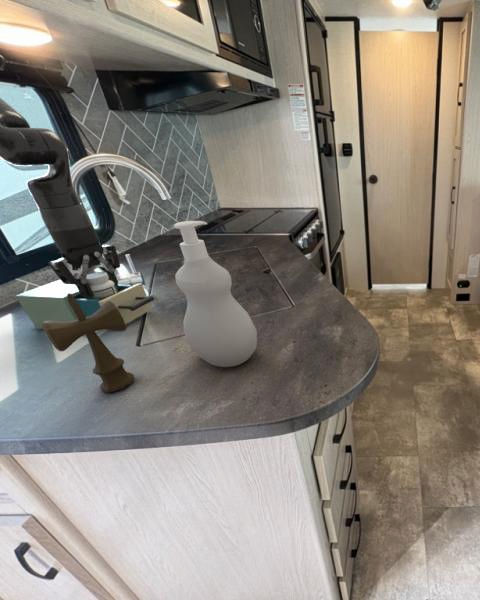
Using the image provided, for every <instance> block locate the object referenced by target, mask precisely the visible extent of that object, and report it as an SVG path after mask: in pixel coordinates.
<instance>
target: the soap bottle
mask: <svg viewBox="0 0 480 600" xmlns="http://www.w3.org/2000/svg"><path fill="white" fill-rule="evenodd" d="M202 225H208V222H206V221H204V220H185V221H179V222H176V223H174V224H173V228H174V229H176V230H177V229H178V230H179V231H180V234H181V237H182V242H180V243H179V248H180V251H181V253H182V256H183V264H182V266H181V267H180V268H179V269H178V270H177V272H176V273H175V274H174V278H175V283H176V285H177V287H178V289H179V290H180V291H181V292H182V293H183V294H184V295H185V298H186V300H187V303H186V310H185V313H184V318H183V322H182V323H183V329H184V330H183V331H184V337H185V341H186V343H187V344H188V345H189V347H190V348H191V349H192V350H193V352H194V353H195V354H196V356H198V357H199V358H200V359H202V360H204V362H207V363H208V364H210V365H211V366H214V367H220V368H231V367H236V366H239V365H241V364H243V363H245V362H247V361H248V360H249V359H250V358H251V356H253V354H254V353H255V351H256V350H257V347H258V330H257V328H256V326H255V324H254V322H253V320H252V318H251V316H250V314H249V313H248V312H247V310H246V309H244V307H243V306H241V304H240V303H239V302H238V301H237V300H236V299H235V297H234V296H233V294H232V292H231V291H232V290H231V289H232V286H233V280H232V276H231V274H230V273H229V271H228V270H227V269H226V268H224V267H223V266H221V265H220V264H218V263H217V262H216V261H214V259H212V258H211V256H210V255H209V253H208V251H207V247H206V243H205V240H203V239H199V237H198V234H197V231H196V228H195V227H197V226H202Z"/></svg>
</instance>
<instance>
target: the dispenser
mask: <svg viewBox="0 0 480 600" xmlns="http://www.w3.org/2000/svg"><path fill="white" fill-rule="evenodd" d="M68 293H70V294H72V296H73V297H74V296H77V295H79V294H80V292H79V290H78V288H77V286H76V285H75V284H64V283H63V282H62V281H61V279H60V278H59V279H58V280H55V281H51V282H48V283H46V284H44V285H40V286H38V287H35V288H33V289H30V290H27V291H24V292H22V293H19V294H18V293H17V294H16V295H15V298H16V299H17V301H18V302H19V304H20V305H21V307H22V309H23V310H24V312H25V313H26V315H27V316H28V318H29V319H30V321H31V323H32V324H33V326H34V327H35V329H37V330H44V329H43V326H42V323H43V322H44V321H75V320H79V319H78V317H77V315H76V314H75V312H74V310H73V308H72V307H71V305H70V303H69V301H68V300H67V299H68V296H67V294H68Z"/></svg>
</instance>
